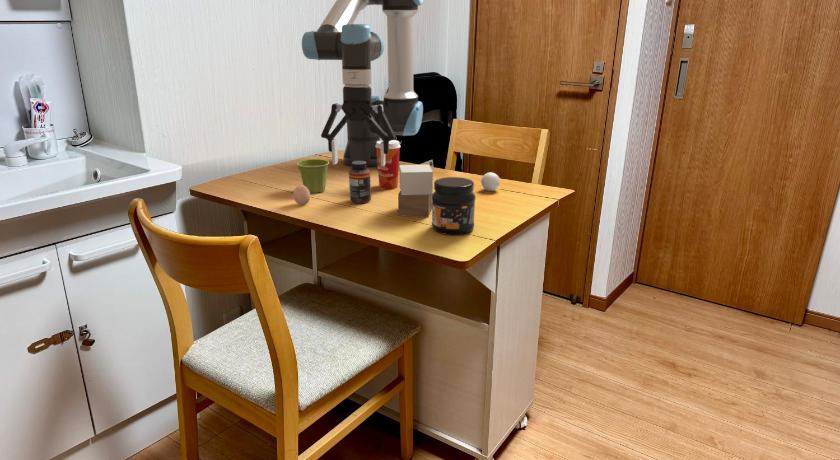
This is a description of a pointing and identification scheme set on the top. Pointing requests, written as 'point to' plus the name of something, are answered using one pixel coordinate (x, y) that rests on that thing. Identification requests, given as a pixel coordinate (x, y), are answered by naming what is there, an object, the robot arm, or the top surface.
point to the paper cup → (388, 165)
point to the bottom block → (414, 205)
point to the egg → (302, 195)
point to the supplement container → (453, 205)
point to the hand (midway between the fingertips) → (358, 164)
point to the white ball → (490, 181)
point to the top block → (416, 179)
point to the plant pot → (314, 174)
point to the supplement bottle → (359, 183)
